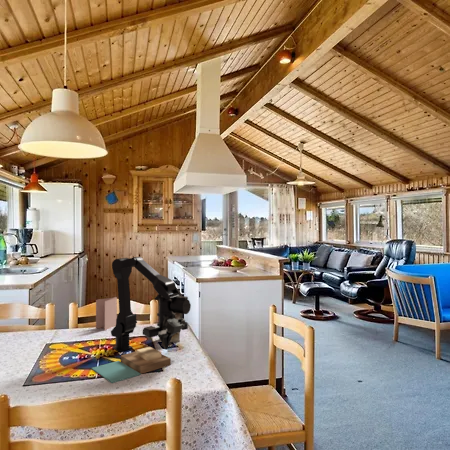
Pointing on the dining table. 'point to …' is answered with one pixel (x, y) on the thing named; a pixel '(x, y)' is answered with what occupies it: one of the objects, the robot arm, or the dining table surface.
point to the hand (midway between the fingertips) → (165, 349)
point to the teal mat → (115, 371)
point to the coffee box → (177, 336)
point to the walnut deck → (144, 362)
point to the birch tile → (148, 353)
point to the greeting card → (106, 312)
